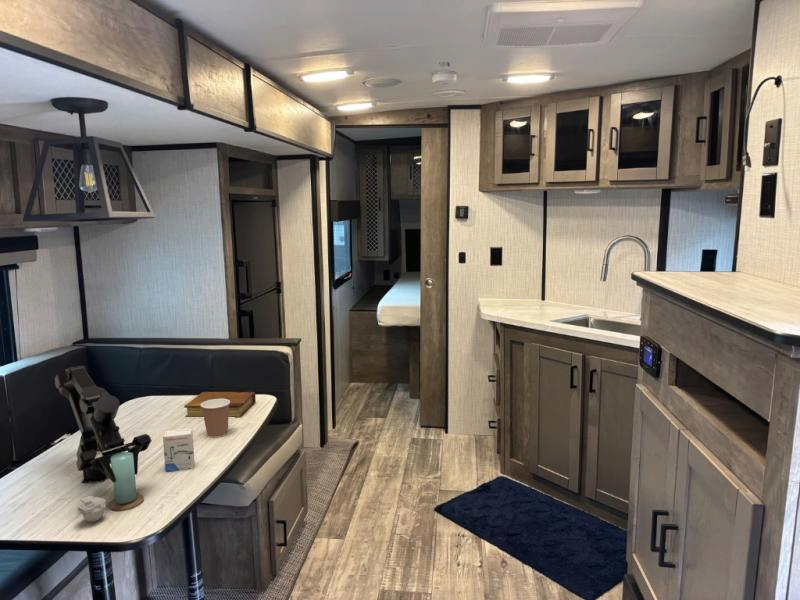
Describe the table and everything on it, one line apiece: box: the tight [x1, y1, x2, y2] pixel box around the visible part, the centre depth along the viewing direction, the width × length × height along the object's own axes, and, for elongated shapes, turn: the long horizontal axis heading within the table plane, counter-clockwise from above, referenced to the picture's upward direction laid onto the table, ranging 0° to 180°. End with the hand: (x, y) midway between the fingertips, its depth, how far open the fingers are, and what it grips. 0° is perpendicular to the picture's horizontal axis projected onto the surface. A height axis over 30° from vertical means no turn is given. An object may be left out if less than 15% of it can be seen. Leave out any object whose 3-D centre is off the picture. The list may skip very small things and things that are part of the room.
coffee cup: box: [201, 399, 230, 438], centre depth 204 cm, size 10×10×12 cm
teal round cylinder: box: [110, 451, 137, 504], centre depth 154 cm, size 6×6×12 cm
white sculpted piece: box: [76, 495, 107, 523], centre depth 146 cm, size 6×7×7 cm
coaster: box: [107, 492, 145, 512], centre depth 155 cm, size 9×9×1 cm
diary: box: [183, 391, 257, 419], centre depth 232 cm, size 23×19×6 cm
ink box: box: [162, 428, 195, 473], centre depth 177 cm, size 9×5×12 cm, turn 105°
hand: (125, 477), depth 153 cm, fingers closed on teal round cylinder, 6 cm apart
